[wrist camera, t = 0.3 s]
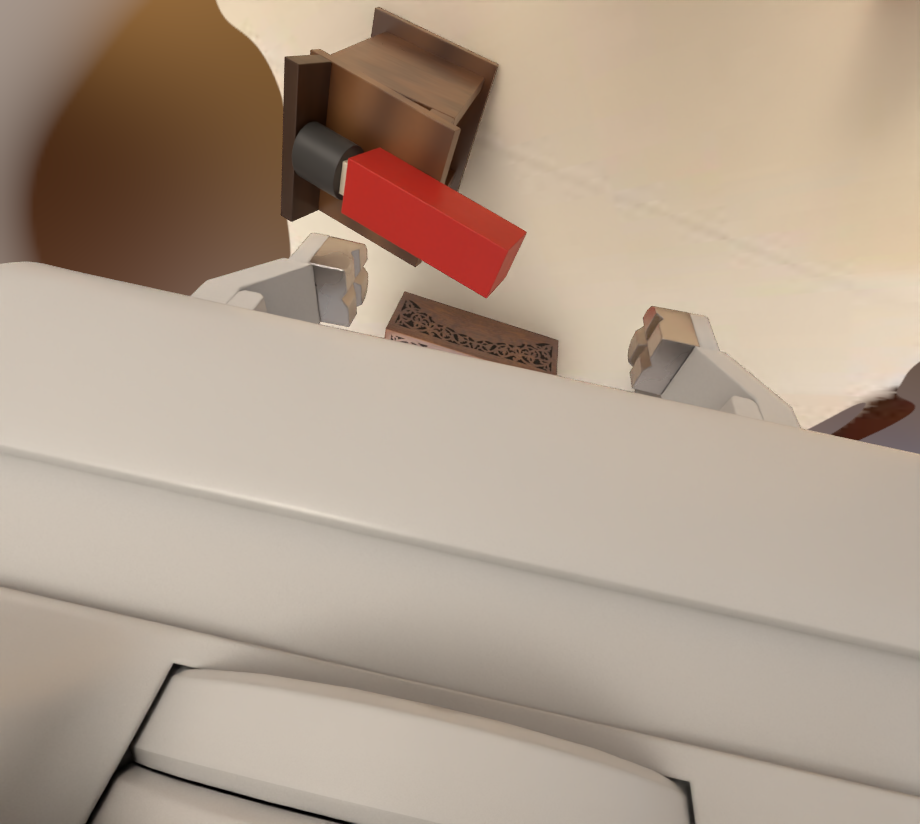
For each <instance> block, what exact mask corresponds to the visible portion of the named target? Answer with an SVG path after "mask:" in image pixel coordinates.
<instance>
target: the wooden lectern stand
mask: <svg viewBox="0 0 920 824" xmlns="http://www.w3.org/2000/svg"><path fill="white" fill-rule="evenodd" d="M497 68H498V64H497V63H495V62H492V61H490V60H488V59H486V58H484V57H482V56H480V55H478V54H476V53H474V52H472V51H470V50H467V49H465V48H463V47H461V46H459V45H457V44H455V43H453V42H451V41H449V40H447V39H444V38H442V37H440V36H438V35H436V34H434V33H432V32H430V31H428V30H426V29H424V28H422V27H419V26H417V25H415V24H413V23H411V22H409V21H407V20H405V19H403V18H401V17H399V16H397V15H394V14H392V13H390V12H388V11H386V10H384V9H382V8H380V7H378V8H375V13H374V20H373V27H372V34H371V38H369V39H367V40H364V41H362V42H359V43H357V44H355V45H352V46H350V47H348V48H345V49H343V50H340V51H338V52H336V53H333V54H331V55H330V54H328V53H326V52H324V51H323V50H321V49H315V50H311V51H310V55H303V56H287V57H285V66H284V108H283V151H282V191H281V216H283V217H285V218H286V219H288V220H289V221H291V222H292V221H295V220H297V219H299V218H301V217H304V216H306V215H308V214H310V213H313V212H315V211H317V210H320V211H322V212H323V213H325V214H327V215H328V216H330V217H332V218H333V219H335V220H337V221H338V222H340V223H342V224H343V225H345V226H347V227H348V228H350V229H352V230H354V231H355V232H357V233H359V234H360V235H362V236H364V237H365V238H367V239H369V240H370V241H372V242H374V243H375V244H377V245H379V246H381V247H382V248H384V249H386V250H387V251H389V252H391V253H392V254H394V255H396V256H397V257H399V258H401V259H402V260H404V261H406V262H407V263H409V264H411V265H413V266H414V267H416V266H417V265H419V264H420V263H421V262H422V260H420V259H419V258H417V257H415V256H414V255H412V254H410V253H409V252H407V251H405V250H404V249H402V248H400V247H399V246H397V245H395V244H393V243H392V242H390V241H388V240H387V239H385V238H383V237H382V236H380V235H378V234H377V233H375V232H373V231H371V230H370V229H368V228H366V227H365V226H363V225H361V224H360V223H358V222H356V221H355V220H353V219H351V218H349V217H348V216H346V215H344V214H343V213H341V210H342V203H343V200H339V199H337V198H335V197H334V196H332V195H330V194H328V193H327V192H325V191H323V190H322V189H320V188H318V187H317V186H315V185H313V184H311V183H310V182H308V181H306V180H305V179H303V178H301V177H300V176H298V175H297V174H296V172H295V170H294V168H293V164H292V150H293V145H294V142H295V139H296V137H297V135H298V133H299V132H300V130H301V129H302V128H303V127H304V126H305V125H306V124H307V123H309V122H313V121H315V122H319V123H321V124H322V125H324V126H326V127H328V128H329V129H331V130H333V131H334V132H336V133H338V134H340V135H341V136H343V137H345V138H347V139H348V140H350V141H352V142H354V143H355V144H357V145H359V146H360V147H361V148H362V149H363V151H364V153H365V152H368V151H370V150H373V149H376V148H379V147H380V148H382V149H384V150H385V151H387V152H389V153H391V154H392V155H394V156H396V157H398V158H399V159H401V160H403V161H404V162H406V163H408V164H410V165H411V166H413V167H415V168H417V169H418V170H420V171H422V172H424V173H425V174H427V175H429V176H431V177H432V178H434V179H436V180H437V181H439V182H441V183H443V184H444V185H446V186H448V187H450V188H451V189H453V190H455V191H457V192H458V189H459V186H460V183H461V180H462V176H463V173H464V170H465V167H466V164H467V161H468V158H469V155H470V152H471V149H472V146H473V142H474V139H475V136H476V133H477V130H478V127H479V124H480V121H481V118H482V115H483V112H484V108H485V105H486V102H487V99H488V96H489V93H490V90H491V87H492V84H493V81H494V78H495V74H496V71H497Z"/></svg>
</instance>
